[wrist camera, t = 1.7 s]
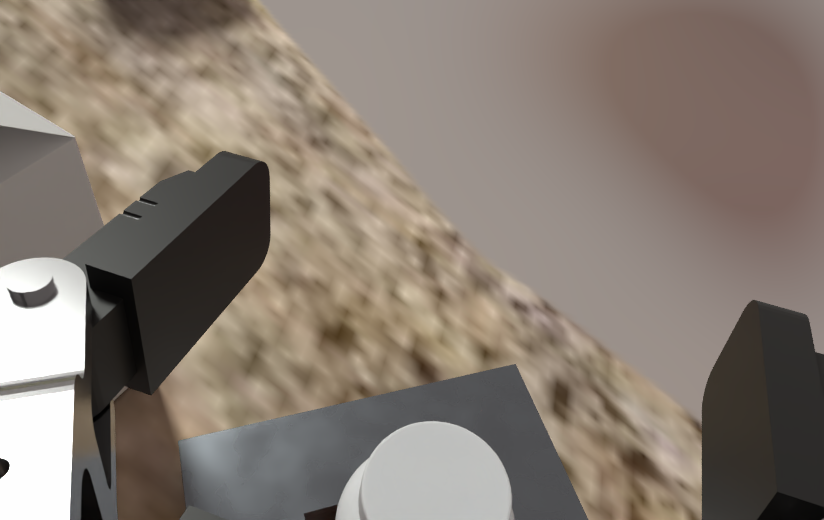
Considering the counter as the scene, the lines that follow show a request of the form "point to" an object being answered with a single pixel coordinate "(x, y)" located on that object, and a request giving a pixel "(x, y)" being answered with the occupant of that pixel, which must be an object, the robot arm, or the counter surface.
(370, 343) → the counter surface
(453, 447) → the pill bottle
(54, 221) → the milk carton
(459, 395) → the holder block
